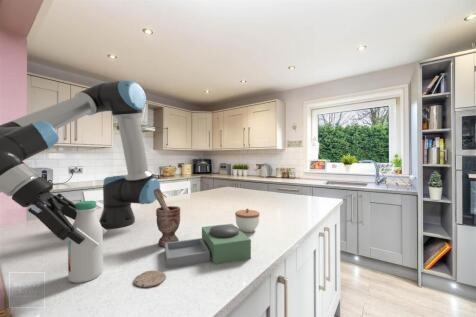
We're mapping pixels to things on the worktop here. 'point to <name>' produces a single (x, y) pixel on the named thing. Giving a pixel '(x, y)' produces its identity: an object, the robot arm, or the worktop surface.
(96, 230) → the milk bottle
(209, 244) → the green box with dome
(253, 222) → the lidded jar
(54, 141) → the robot arm
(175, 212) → the mortar and pestle
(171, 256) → the grey square tray
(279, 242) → the worktop surface
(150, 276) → the flatbread
